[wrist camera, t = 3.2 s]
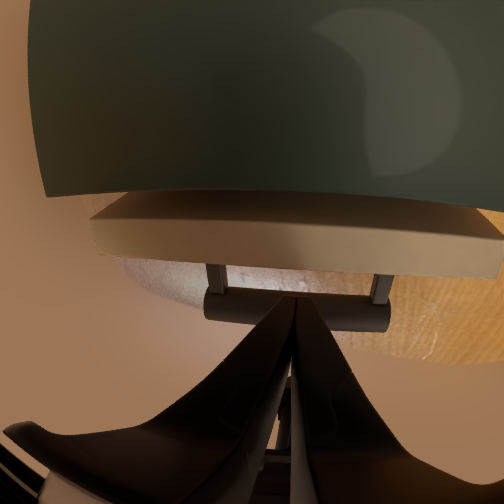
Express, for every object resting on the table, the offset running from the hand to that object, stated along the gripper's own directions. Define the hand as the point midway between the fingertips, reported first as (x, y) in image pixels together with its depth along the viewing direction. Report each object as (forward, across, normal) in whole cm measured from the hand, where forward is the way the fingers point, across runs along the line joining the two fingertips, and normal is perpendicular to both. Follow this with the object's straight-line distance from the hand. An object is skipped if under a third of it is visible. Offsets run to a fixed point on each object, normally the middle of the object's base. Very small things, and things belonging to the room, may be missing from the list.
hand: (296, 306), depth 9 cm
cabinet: (+7, 0, -12) cm, 14 cm away
